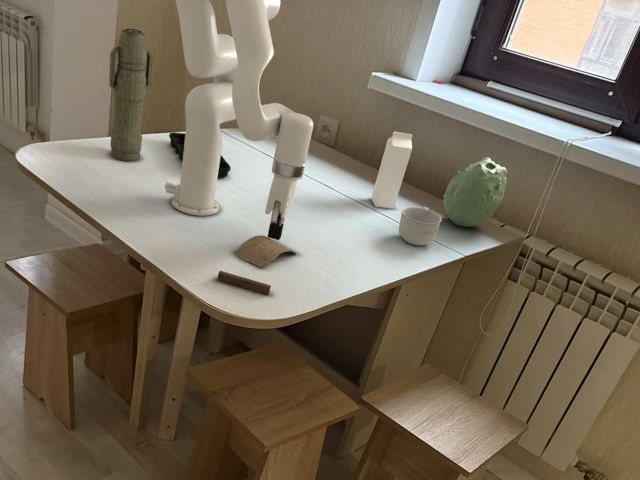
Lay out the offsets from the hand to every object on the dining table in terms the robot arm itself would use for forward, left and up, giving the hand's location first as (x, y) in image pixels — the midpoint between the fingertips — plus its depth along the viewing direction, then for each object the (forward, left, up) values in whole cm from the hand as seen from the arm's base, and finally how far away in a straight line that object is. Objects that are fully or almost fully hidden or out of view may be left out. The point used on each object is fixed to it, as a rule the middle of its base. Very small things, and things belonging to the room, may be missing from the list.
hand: (274, 237), depth 171 cm
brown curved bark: (0, -7, -2) cm, 7 cm away
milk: (+23, +47, -2) cm, 53 cm away
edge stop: (0, -26, -1) cm, 26 cm away
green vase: (+48, +48, -2) cm, 68 cm away
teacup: (+35, +27, -2) cm, 44 cm away
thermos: (-54, +29, -2) cm, 62 cm away
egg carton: (-36, +41, -2) cm, 54 cm away
